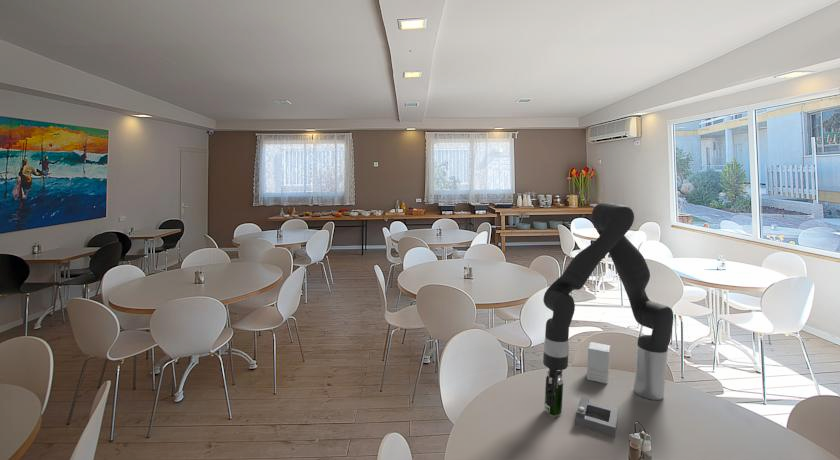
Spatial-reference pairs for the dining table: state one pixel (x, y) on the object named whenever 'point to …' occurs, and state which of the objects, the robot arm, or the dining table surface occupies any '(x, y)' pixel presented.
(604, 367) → the supplement box
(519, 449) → the dining table surface
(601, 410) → the grey square frame
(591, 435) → the dining table surface
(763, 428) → the dining table surface
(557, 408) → the beer can
